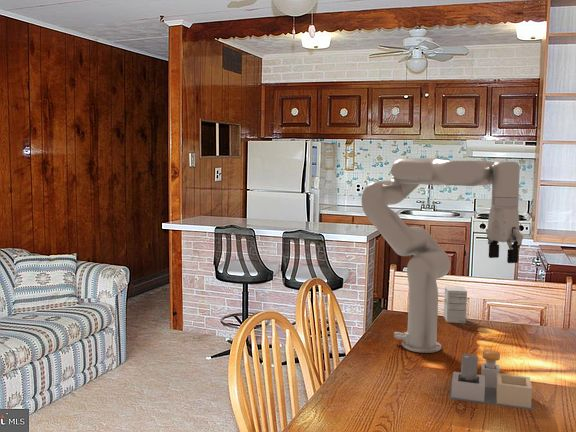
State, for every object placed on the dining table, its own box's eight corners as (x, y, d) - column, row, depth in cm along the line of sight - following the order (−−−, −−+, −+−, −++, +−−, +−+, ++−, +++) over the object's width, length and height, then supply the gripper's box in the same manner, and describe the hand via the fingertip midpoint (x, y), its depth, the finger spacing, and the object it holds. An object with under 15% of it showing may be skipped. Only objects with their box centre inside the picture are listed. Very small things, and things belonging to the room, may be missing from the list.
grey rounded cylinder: (459, 395, 153) (461, 358, 152) (460, 389, 157) (461, 353, 156) (475, 397, 152) (477, 359, 151) (476, 391, 156) (477, 354, 155)
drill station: (448, 404, 151) (450, 379, 151) (451, 381, 166) (452, 359, 166) (533, 415, 145) (534, 390, 145) (528, 391, 160) (529, 368, 160)
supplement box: (443, 317, 234) (444, 285, 232) (462, 318, 233) (463, 286, 232) (446, 322, 226) (447, 290, 225) (466, 323, 226) (467, 290, 224)
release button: (481, 375, 159) (482, 354, 159) (481, 370, 163) (482, 349, 163) (499, 377, 158) (500, 356, 157) (498, 372, 162) (499, 350, 161)
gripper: (477, 201, 183) (476, 256, 185) (510, 205, 166) (508, 265, 168) (499, 201, 185) (497, 255, 186) (534, 205, 168) (532, 264, 169)
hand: (502, 260), depth 177 cm, fingers open, 9 cm apart
